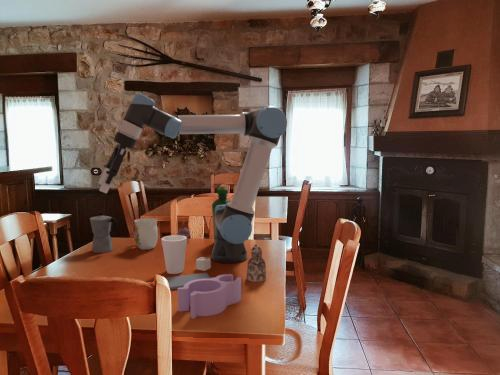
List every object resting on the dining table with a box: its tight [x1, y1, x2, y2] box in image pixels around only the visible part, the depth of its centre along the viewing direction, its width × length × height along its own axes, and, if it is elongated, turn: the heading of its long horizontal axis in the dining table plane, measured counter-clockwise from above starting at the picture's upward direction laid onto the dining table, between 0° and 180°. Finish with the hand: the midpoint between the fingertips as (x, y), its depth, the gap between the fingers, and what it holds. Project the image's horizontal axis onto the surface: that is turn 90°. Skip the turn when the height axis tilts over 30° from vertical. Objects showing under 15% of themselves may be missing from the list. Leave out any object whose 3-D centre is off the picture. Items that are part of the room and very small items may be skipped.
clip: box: [177, 273, 242, 319], centre depth 123 cm, size 20×12×7 cm, turn 133°
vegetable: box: [177, 221, 191, 239], centre depth 201 cm, size 6×6×10 cm
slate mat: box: [165, 272, 212, 291], centre depth 143 cm, size 16×10×1 cm, turn 111°
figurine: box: [246, 244, 267, 283], centre depth 146 cm, size 7×7×12 cm
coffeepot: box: [89, 211, 118, 254], centre depth 183 cm, size 15×9×18 cm, turn 68°
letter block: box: [195, 256, 212, 272], centre depth 158 cm, size 4×4×4 cm
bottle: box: [211, 185, 231, 243], centre depth 196 cm, size 11×11×28 cm
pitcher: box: [133, 217, 159, 250], centre depth 189 cm, size 11×18×14 cm, turn 33°
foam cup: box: [161, 234, 188, 275], centre depth 154 cm, size 10×9×13 cm
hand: (102, 188), depth 146 cm, fingers open, 13 cm apart
